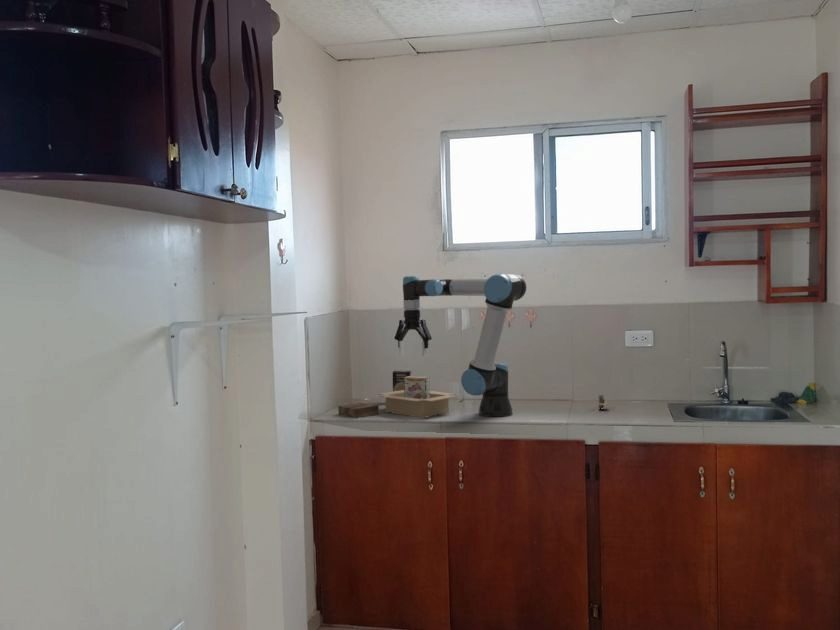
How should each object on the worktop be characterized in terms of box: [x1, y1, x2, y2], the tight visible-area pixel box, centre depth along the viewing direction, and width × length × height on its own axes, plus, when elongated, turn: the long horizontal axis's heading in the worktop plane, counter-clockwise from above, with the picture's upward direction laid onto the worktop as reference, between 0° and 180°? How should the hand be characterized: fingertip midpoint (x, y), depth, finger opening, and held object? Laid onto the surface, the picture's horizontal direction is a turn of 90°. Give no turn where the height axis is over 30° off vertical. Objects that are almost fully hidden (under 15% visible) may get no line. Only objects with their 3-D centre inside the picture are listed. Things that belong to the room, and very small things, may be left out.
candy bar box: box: [404, 375, 431, 399], centre depth 349 cm, size 11×5×16 cm, turn 70°
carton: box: [378, 390, 458, 418], centre depth 349 cm, size 34×26×8 cm
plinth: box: [337, 402, 380, 419], centre depth 346 cm, size 13×13×4 cm
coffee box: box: [392, 370, 412, 392], centre depth 376 cm, size 9×6×16 cm
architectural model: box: [597, 393, 608, 409], centre depth 347 cm, size 3×7×7 cm, turn 160°
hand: (413, 355), depth 351 cm, fingers open, 13 cm apart
